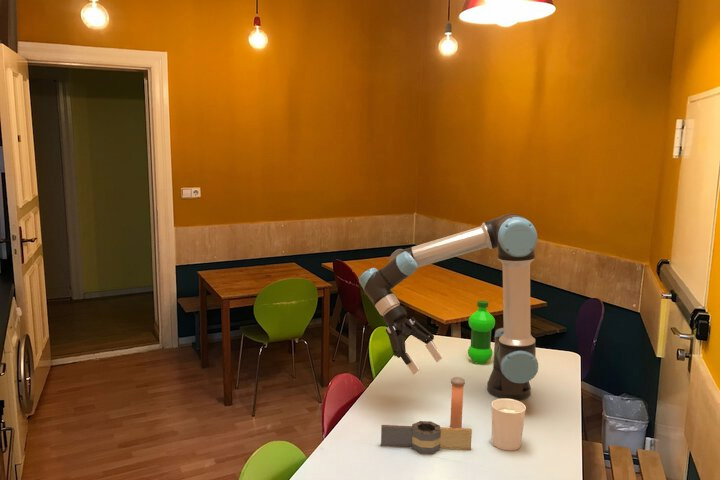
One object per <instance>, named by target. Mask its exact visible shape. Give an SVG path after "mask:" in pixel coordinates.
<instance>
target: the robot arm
mask: <svg viewBox="0 0 720 480" xmlns="http://www.w3.org/2000/svg"><path fill="white" fill-rule="evenodd" d="M536 229H537V228H535V225H533V223H532V222H531V221H530V220H528V219H526V218H525V217H524V216H522V215H521V214H518V213H507V214H503V215H500V216H498V217H496V218H492V219H490V220H488V221H487V220H486V221H483V222H482V223H481V225H480V226H477V227H474V228H471V229H468V230H463V231H461V232H457V233H455V234H452V235H451V234H450V235H448V236H444V237H441V238H438V239H434V240H431V241H428V242H424V243H421V244H418V245H415V246H411V247H408V248H405V249H403V248H398V249H396V250H395V251H394V252H392V253H391V255H390V257H389V261H388V263H386V265H384V266H383V267H382V268H380V269H377V268H376V267H370V268H369V269H367V270H365V271H364V272H363V273H362V274H361V275H360V276H359V278H358V282H359V284H360V286H361V287H362V289H363V292H364V293H365V294H366V295H367V297H368V298H369V300H370V301H371V302H372V304H373V306H374V307H375V309H376V310H377V312H378V313H379V315H380V316H382V320H383V321H384V323H385V324H386V325H387V328H386V329H385V333H386V334H387V335H388V339H389V342H390V346H391V349H392V354H393V356H394V357H396V358H398V359H400V358H401V359H402V361H403V363H404V364H405V365H406V366H407V367H408V369H409V370H410V372H411V373H412V375H415V374H416V373H417V372H419V371H420V370H421V369H420V368H419V366H418V364H417V363H416V361H415V360H414V358H413V356H412V355H411V354H410V353H409V351H407V349H406V336H412V337H414V338H415V339H417V340H419V341H421V342H422V343H424V344H425V348H426V349H427V350H428V352H429V353H430V355H431V356H432V358H433V359H434V360H435V362H436V363H438V362H440V360H441V361H442V359H443V358H444V357H443V355H442V354H441V352H440V351H439V350H438V347H437V346H436V345H435V343H434V341H433V340H435V335H434V334H432V333H431V332H430V331H429V330H428V329H427V328H425V327H424V326H423V325H422V324H421V323H420V322H418V320H417V319H416V318H415V317H414V316H412V317H411V318H410V319H408V317H407V316H408V313H407V311H406V309H405V308H404V307H403V306H402V305H401V302H400V301H399V299H398V298H397V296H396V295H395V294H394V293H393V290H392V289H393V288H395V287H396V286H397V285H399V284H400V283H401V282H403V281H404V280H405V279H407V278H408V277H409V276H412V275H413V274H414V273H415V272H416V271H417V270H418V268H422V267H424V266H428V265H431V264H435V263H438V262H441V261H445V260H448V259H449V260H450V259H453V258H456V257H458V256H462V255H465V254H468V253H472V252H476V251H479V250H483V249H486V248H488V249H490V250H493V249H497V260H498V261H499V262H501V264H502V302H503V303H502V309H503V310H502V311H503V313H502V315H503V316H502V317H503V321H502V322H503V327H500V328H497V329H496V330H495V332H494V336H493V337H494V349H493V363H492V364H493V365H492V367H493V368H492V371H491V373H490V376H489V377H488V381H487V383H486V384H487V386H486V391H487V392H488V393H489V394H491V395H492V396H494V397H496V398H498V399H503V398H505V399H513V400H517V401H519V400H525V399H527V398H529V397H530V396H531V393H532V392H531V389H532V388H531V385H530V381H531V380H533V379H534V378H535V377H536V375H537V373H538V372H539V362H538V359H537V357H536V355H537V354H536V338H535V337H533V336H532V334H531V333H532V332H531V264H532V262H533V261H535V259H536V246H537V244H538V232H537V230H536Z"/></svg>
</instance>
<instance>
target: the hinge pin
mask: <svg viewBox="0 0 720 480" xmlns="http://www.w3.org/2000/svg"><path fill="white" fill-rule="evenodd" d="M450 383H451V395H450V397H451V400H450V401H451V402H450V420H449V421H450V422H449V424H450V425H449V428H463V427H462V425H463V423H462V422H463V406H464V404H463V403H464V385H465V384H466V380H465V379H464V378H462V377H461V376H460V377H459V376H455V377H451V378H450Z"/></svg>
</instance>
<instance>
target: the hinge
mask: <svg viewBox="0 0 720 480" xmlns="http://www.w3.org/2000/svg"><path fill="white" fill-rule="evenodd" d="M380 427H381V430H380V431H381V432H380V435H381V437H380V447H393V448H395V447H397V448H411V450H413V451H414V452H417V453H418V454H419V455H434V454H435V453H438V452H440V451H441V449H444V450H461V451H462V450H464V451H466V450H468V451H471V450H472V435H473V434H472V433H473V429H472V428H467V427H462V428H450V427H444V426H443V427H441V425H440V424H437V423H435V422H433V421H430V420H429V421H426V420H424V421H423V420H419V421H417V422H414V423H412V424H411V425H398V424H397V425H395V424H394V425H393V424H381V426H380Z"/></svg>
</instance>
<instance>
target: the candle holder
mask: <svg viewBox="0 0 720 480" xmlns="http://www.w3.org/2000/svg"><path fill="white" fill-rule="evenodd" d="M490 404H491V443H492V445H493V446H494V447H496V448H497V449H499V450H503V451H516V450H518V449H520V448H521V446H522V441H523V440H522V439H523V434H524V433H523V432H524V423H525V419H526V418H525V416H526V410H527V407H526V404H524V403H523V402H522V401H519V400H513V399H505V398H497V399H494V400H493V401H492V402H491V403H490Z"/></svg>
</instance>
